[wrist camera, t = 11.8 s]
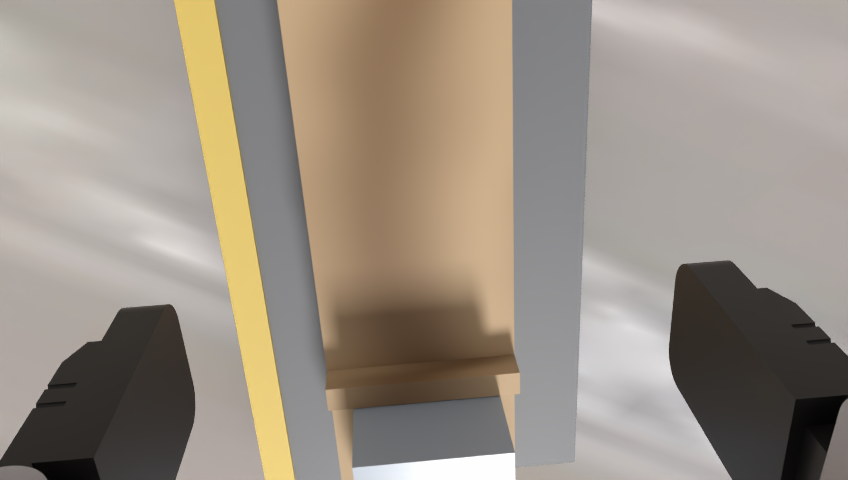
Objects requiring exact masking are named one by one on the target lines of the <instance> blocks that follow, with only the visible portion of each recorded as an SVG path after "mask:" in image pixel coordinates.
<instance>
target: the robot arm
mask: <svg viewBox="0 0 848 480" xmlns="http://www.w3.org/2000/svg"><path fill="white" fill-rule="evenodd" d="M669 359H670V366H671V371H672V375H673V378H674V381H675V383H676V385H677V387H678V389H679V391H680V392H681V394H682V396H683V397H684V399H685V401H686V402H687V404H688V406H689V408H690V409H691V411H692V413H693V414H694V416H695V418H696V419H697V421H698V423H699V424H700V426H701V428H702V429H703V431H704V433H705V435H706V436H707V438H708V440H709V441H710V443H711V445H712V446H713V448H714V450H715V451H716V453H717V455H718V456H719V458H720V460H721V462H722V463H723V465H724V467H725V468H726V470H727V472H728V473H729V475H730V477H731V478H732V480H848V356H847V355H846V354H845V353H844V352H843V351H842V350H841V349H840V348H839V347H838V346H837V345H836V344H835V343H831V338H830V337H829V336H828V335H827V334H826V333H825V332H824V331H823V330H822V329H821V328H820V327H816V326H815V322H814V321H813V320H812V319H811V318H810V317H809V316H808V315H807V314H806V313H805V312H804V311H803V310H802V309H801V308H800V307H799V306H798V305H797V304H796V303H794V302H792V301H791V300H789V299H787V298H785V297H783V296H781V295H779V294H777V293H775V292H774V291H772V290H770V289H768V288H759V289H757V288H756V287H755V286H754V285H753V283H752V282H751V281H750V280H749V279H748V278H747V277H746V276H745V275H744V274H743V273H742V272H741V270H740V269H739V268H738V267H737V266H736V265H735V264H734V263H733V262H731V261H715V262H702V263H690V264H682V265H681V266H680V267H679V269H678V271H677V274H676V280H675V290H674V301H673V311H672V322H671V332H670V342H669ZM194 416H195V392H194V386H193V381H192V377H191V372H190V368H189V364H188V359H187V355H186V350H185V346H184V342H183V337H182V333H181V329H180V324H179V320H178V316H177V313H176V311H175V309H174V307H173V306H172V305H170V304H167V305H155V306H142V307H130V308H122V309H120V310H119V312H118V313H117V315H116V317H115V318H114V320H113V322H112V323H111V325H110V327H109V329H108V330H107V332H106V334H105V336H104V337H103V339H102V341H96V342H87V343H86V344H85V345H84V346H82V347H81V348H80V349H79V350H77V351H76V352H75V353H74V354H72V355H71V356H70V357H69V358H67V359H66V360H65V361H63V362H62V363H61V365H60V367H59V368H58V370H57V371H56V373H55V375H54V376H53V378H52V379H51V381H50V382H49V384H48V389H46V390H44V392H43V394H42V395H41V397H40V398H39V400H38V401H37V403H36V408H33V409H32V411H31V413H30V414H29V416H28V417H27V419H26V420H25V422H24V424H23V425H22V427H21V428H20V430H19V432H18V433H17V435H16V436H15V438H14V439H13V441H12V443H11V444H10V446H9V447H8V449H7V451H6V452H5V454H4V455H3V457H2V458H1V460H0V480H175V479H176V476H177V473H178V470H179V467H180V464H181V461H182V458H183V455H184V452H185V448H186V445H187V442H188V439H189V436H190V433H191V430H192V427H193V423H194Z"/></svg>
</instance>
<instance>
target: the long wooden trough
mask: <svg viewBox="0 0 848 480" xmlns="http://www.w3.org/2000/svg"><path fill="white" fill-rule="evenodd" d="M277 4H278V11H279V19H280V26H281V34H282V41H283V49H284V56H285V63H286V71H287V78H288V86H289V93H290V101H291V108H292V115H293V123H294V130H295V138H296V145H297V153H298V160H299V168H300V175H301V182H302V190H303V197H304V205H305V212H306V220H307V227H308V235H309V242H310V249H311V257H312V264H313V272H314V279H315V287H316V294H317V301H318V309H319V316H320V324H321V331H322V339H323V346H324V354H325V361H326V368H327V375H326V388H325V391H326V398H327V405H328V411H332V413H333V421H334V428H335V435H336V443H337V450H338V458H339V465H340V473H341V480H354V478H353V470H352V455H353V409H356V408H367V407H378V406H390V405H401V404H412V403H423V402H435V401H446V400H457V399H468V398H479V397H491V396H500V397H501V401H502V405H503V409H504V413H505V416H506V420H507V424H508V428H509V432H510V436H511V440H512V443H513V447H514V451H515V394H520V371H519V368H518V365H517V362H516V358H515V355H514V225H513V62H512V0H277Z"/></svg>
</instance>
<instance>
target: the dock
mask: <svg viewBox="0 0 848 480" xmlns="http://www.w3.org/2000/svg"><path fill="white" fill-rule="evenodd" d="M174 3H175V8H176V13H177V18H178V24H179V29H180V34H181V39H182V45H183V50H184V55H185V60H186V66H187V71H188V76H189V82H190V87H191V92H192V97H193V103H194V108H195V113H196V118H197V124H198V129H199V134H200V139H201V145H202V150H203V155H204V160H205V166H206V171H207V176H208V181H209V187H210V192H211V197H212V203H213V208H214V213H215V218H216V224H217V229H218V234H219V239H220V245H221V250H222V255H223V260H224V266H225V271H226V276H227V281H228V287H229V292H230V297H231V302H232V308H233V313H234V318H235V324H236V329H237V334H238V339H239V345H240V350H241V355H242V360H243V366H244V371H245V376H246V381H247V387H248V392H249V397H250V402H251V408H252V413H253V418H254V423H255V429H256V434H257V439H258V445H259V450H260V455H261V460H262V466H263V471H264V476H265V480H341V473H340V465H339V458H338V450H337V443H336V435H335V428H334V421H333V413H332V411H328V405H327V398H326V391H325V388H326V375H327V368H326V361H325V354H324V346H323V339H322V331H321V324H320V316H319V309H318V301H317V294H316V287H315V279H314V272H313V264H312V257H311V249H310V242H309V235H308V227H307V220H306V212H305V205H304V197H303V190H302V182H301V175H300V168H299V160H298V153H297V145H296V138H295V130H294V123H293V115H292V108H291V101H290V93H289V86H288V78H287V71H286V63H285V56H284V49H283V41H282V34H281V26H280V19H279V11H278V4H277V0H174ZM591 15H592V0H512V62H513V225H514V355H515V358H516V362H517V365H518V368H519V371H520V394H515V468H516V467H527V466H538V465H549V464H559V463H570V462H575V437H576V410H577V384H578V358H579V331H580V305H581V279H582V252H583V226H584V200H585V173H586V147H587V121H588V94H589V68H590V42H591Z"/></svg>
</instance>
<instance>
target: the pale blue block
mask: <svg viewBox="0 0 848 480" xmlns="http://www.w3.org/2000/svg"><path fill="white" fill-rule="evenodd" d="M352 470H353V478H354V480H515V451H514V447H513V443H512V440H511V436H510V432H509V428H508V424H507V420H506V416H505V413H504V409H503V405H502V401H501V397H500V396H491V397H479V398H468V399H457V400H446V401H435V402H423V403H412V404H401V405H390V406H378V407H367V408H356V409H353V455H352Z"/></svg>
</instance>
